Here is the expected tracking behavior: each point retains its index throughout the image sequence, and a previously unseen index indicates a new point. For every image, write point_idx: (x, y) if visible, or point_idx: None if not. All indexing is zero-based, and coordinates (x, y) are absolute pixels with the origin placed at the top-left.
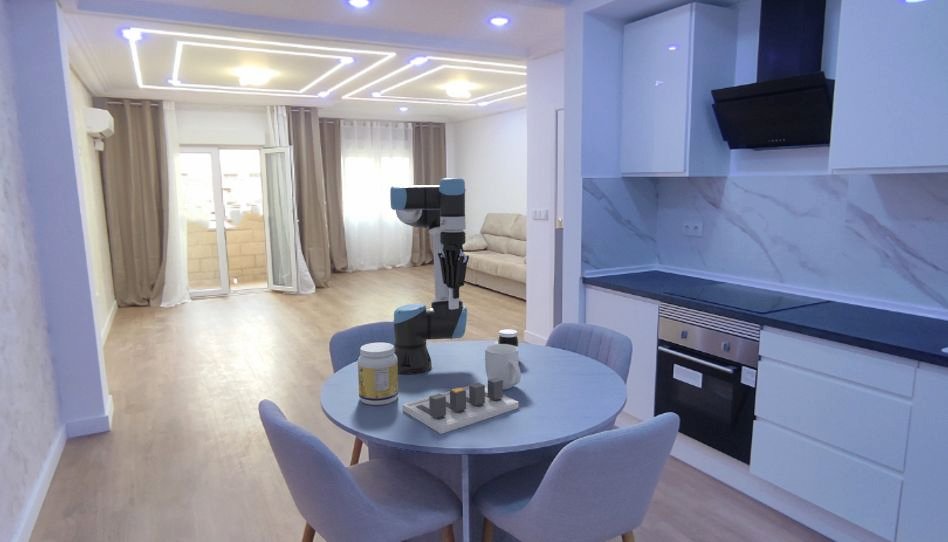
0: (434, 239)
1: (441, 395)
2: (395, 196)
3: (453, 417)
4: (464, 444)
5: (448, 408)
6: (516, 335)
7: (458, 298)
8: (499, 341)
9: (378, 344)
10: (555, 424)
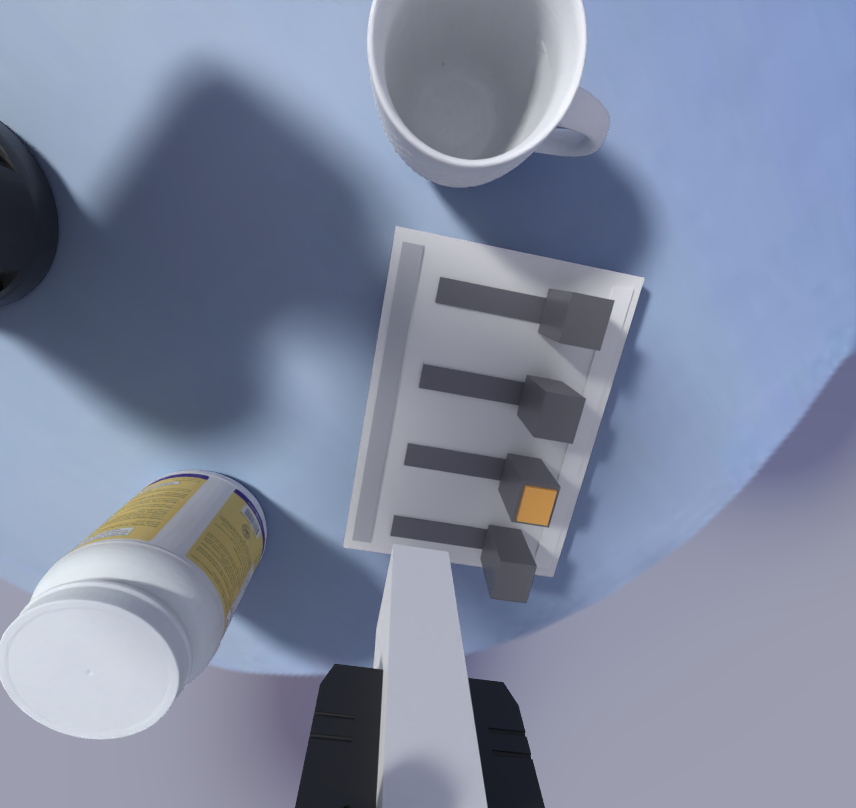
0: None
1: (519, 569)
2: None
3: None
4: (633, 566)
5: (481, 479)
6: None
7: (461, 643)
8: None
9: (47, 646)
10: (796, 308)
